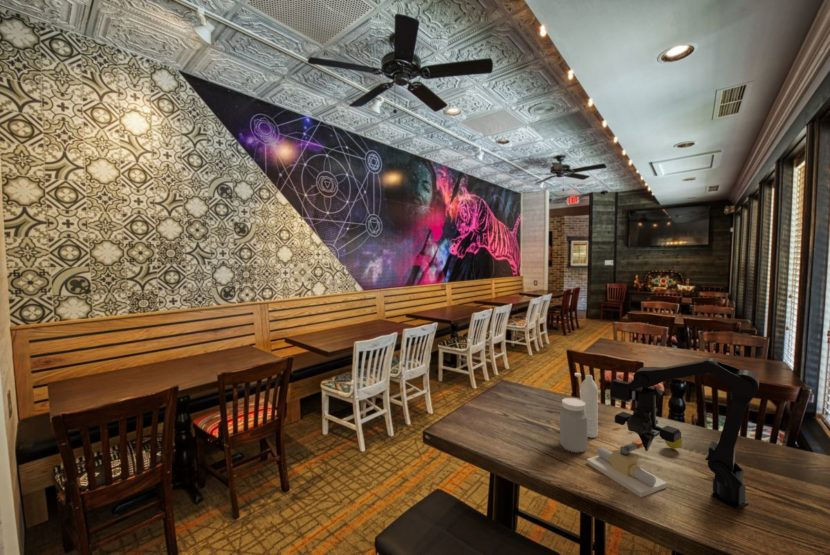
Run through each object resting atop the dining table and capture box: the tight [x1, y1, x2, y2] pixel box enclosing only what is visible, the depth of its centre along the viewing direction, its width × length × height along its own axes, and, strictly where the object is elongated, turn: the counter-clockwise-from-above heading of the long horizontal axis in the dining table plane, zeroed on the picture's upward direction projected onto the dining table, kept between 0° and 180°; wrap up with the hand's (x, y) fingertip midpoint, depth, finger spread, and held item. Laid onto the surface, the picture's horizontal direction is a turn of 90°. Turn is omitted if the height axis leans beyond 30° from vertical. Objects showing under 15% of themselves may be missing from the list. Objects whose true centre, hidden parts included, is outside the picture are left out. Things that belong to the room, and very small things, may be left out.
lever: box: [619, 438, 644, 456], centre depth 121 cm, size 12×3×2 cm, turn 118°
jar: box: [559, 397, 588, 454], centre depth 136 cm, size 10×10×18 cm
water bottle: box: [574, 372, 599, 439], centre depth 147 cm, size 9×6×25 cm
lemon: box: [664, 436, 683, 450], centre depth 134 cm, size 6×6×8 cm
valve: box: [586, 446, 668, 498], centre depth 119 cm, size 20×12×7 cm, turn 22°
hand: (646, 450), depth 120 cm, fingers closed
